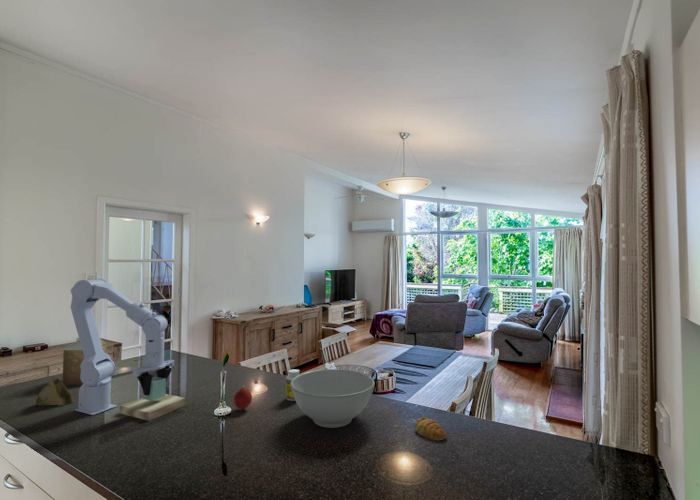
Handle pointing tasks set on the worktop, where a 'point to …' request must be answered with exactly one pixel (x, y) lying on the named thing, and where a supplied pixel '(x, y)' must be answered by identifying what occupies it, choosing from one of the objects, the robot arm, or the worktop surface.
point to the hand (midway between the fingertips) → (153, 392)
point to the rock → (54, 394)
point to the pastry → (430, 429)
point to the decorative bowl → (332, 395)
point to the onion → (242, 398)
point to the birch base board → (152, 407)
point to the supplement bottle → (289, 378)
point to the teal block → (156, 389)
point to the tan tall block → (74, 362)
